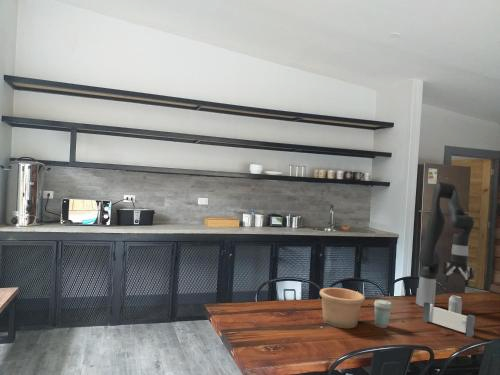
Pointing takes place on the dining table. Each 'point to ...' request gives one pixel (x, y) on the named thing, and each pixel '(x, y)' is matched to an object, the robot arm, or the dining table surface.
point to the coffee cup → (382, 313)
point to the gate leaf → (448, 318)
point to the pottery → (341, 307)
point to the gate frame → (469, 321)
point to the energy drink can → (455, 304)
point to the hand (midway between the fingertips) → (457, 284)
